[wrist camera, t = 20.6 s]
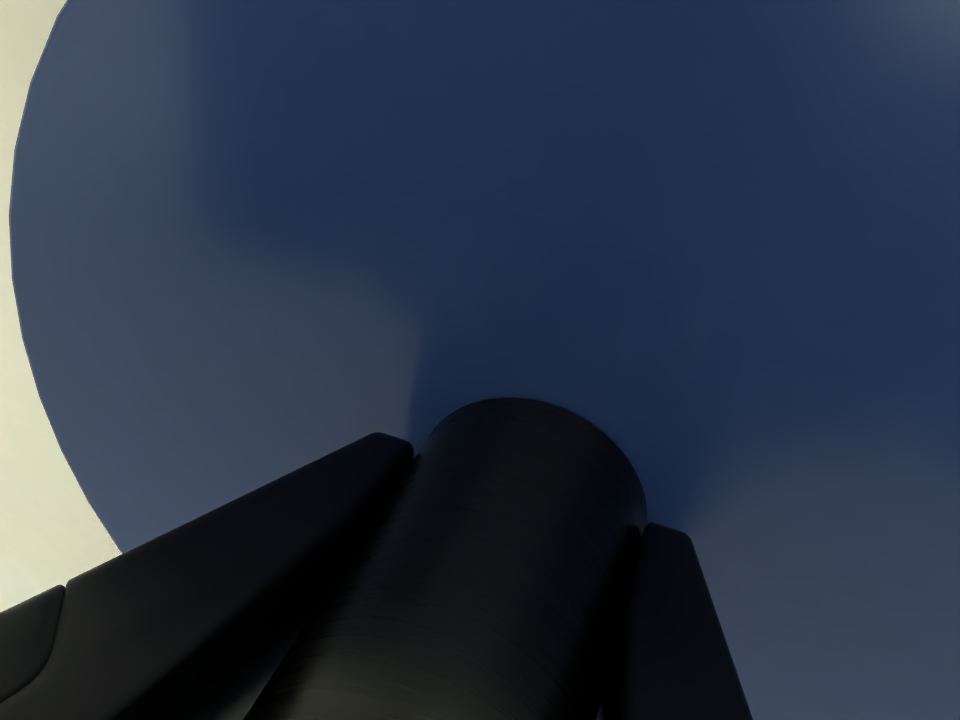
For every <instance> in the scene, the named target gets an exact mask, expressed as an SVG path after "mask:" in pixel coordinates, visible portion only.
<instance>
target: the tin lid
mask: <svg viewBox="0 0 960 720" xmlns="http://www.w3.org/2000/svg"><path fill="white" fill-rule="evenodd" d="M9 226H10V246H11V267H12V281H13V287H14V293H15V298H16V304H17V310H18V316H19V321H20V327H21V333H22V339H23V342H24V346H25V349H26V353H27V356H28V359H29V363H30V366H31V370H32V373H33V377H34V380H35V383H36V387H37V390H38V394H39V397H40V399H41V402H42V404H43V407H44V409H45V412H46V414H47V416H48V419H49V421H50V424H51V426H52V429H53V431H54V434H55V436H56V438H57V441H58V443H59V446H60V448H61V451H62V453H63V455H64V456H65V458H66V460H67V462H68V464H69V466H70V468H71V470H72V472H73V474H74V475H75V477H76V479H77V481H78V483H79V485H80V487H81V489H82V491H83V493H84V494H85V496H86V498H87V500H88V502H89V504H90V505H91V507H92V508H93V510H94V511H95V513H96V514H97V516H98V518H99V519H100V521H101V522H102V524H103V525H104V527H105V528H106V530H107V532H108V533H109V535H110V536H111V538H112V539H113V541H114V542H115V544H116V545H117V547H118V549H119V550H120V551H121V553H122V554H124V553H126V552H128V551H130V550H132V549H134V548H136V547H138V546H140V545H142V544H144V543H146V542H149V541H151V540H153V539H155V538H157V537H159V536H161V535H163V534H165V533H167V532H169V531H171V530H173V529H175V528H177V527H179V526H181V525H184V524H186V523H188V522H190V521H192V520H194V519H196V518H198V517H200V516H202V515H204V514H206V513H208V512H210V511H212V510H214V509H217V508H219V507H221V506H223V505H225V504H227V503H229V502H231V501H233V500H235V499H237V498H239V497H241V496H243V495H245V494H247V493H250V492H252V491H254V490H256V489H258V488H260V487H262V486H264V485H266V484H268V483H270V482H272V481H274V480H276V479H278V478H280V477H283V476H285V475H287V474H289V473H291V472H293V471H295V470H297V469H299V468H301V467H303V466H305V465H307V464H309V463H311V462H313V461H315V460H318V459H320V458H322V457H324V456H326V455H328V454H330V453H332V452H334V451H336V450H338V449H340V448H342V447H344V446H346V445H348V444H351V443H353V442H355V441H357V440H359V439H361V438H363V437H365V436H367V435H369V434H372V433H375V432H381V433H385V434H388V435H391V436H394V437H397V438H400V439H403V440H406V441H408V442H410V443H411V444H412V446H413V448H414V459H413V461H412V462H411V464H410V465H409V467H408V469H407V470H406V472H405V473H404V475H403V476H402V478H401V479H400V481H399V482H398V484H397V485H396V487H395V488H394V490H393V491H392V493H391V494H390V496H389V498H388V499H387V501H386V502H385V504H384V505H383V507H382V508H381V510H380V511H379V513H378V514H377V516H376V517H375V519H374V520H373V522H372V523H371V525H370V527H369V528H368V530H367V531H366V533H365V534H364V536H363V537H362V539H361V540H360V542H359V543H358V545H357V546H356V548H355V549H354V551H353V553H352V554H351V556H350V557H349V559H348V560H347V562H346V563H345V565H344V566H343V568H342V569H341V571H340V572H339V574H338V575H337V577H336V578H335V580H334V582H333V583H332V585H331V586H330V588H329V589H328V591H327V592H326V594H325V595H324V597H323V598H322V600H321V601H320V603H319V604H318V606H317V608H316V609H315V611H314V612H313V614H312V615H311V617H310V618H309V620H308V621H307V623H306V624H305V626H304V627H303V629H302V630H301V632H300V633H299V635H298V637H297V638H296V640H295V641H294V643H293V644H292V646H291V647H290V649H289V650H288V652H287V653H286V655H285V656H284V658H283V659H282V661H281V662H280V664H279V666H278V667H277V669H276V670H275V672H274V673H273V675H272V676H271V678H270V679H269V681H268V682H267V684H266V685H265V687H264V688H263V690H262V692H261V693H260V695H259V696H258V698H257V699H256V701H255V702H254V704H253V705H252V707H251V708H250V710H249V711H248V713H247V714H246V716H245V717H244V719H243V720H596V719H597V715H598V711H599V707H600V704H601V700H602V696H603V692H604V688H605V683H606V678H607V674H608V669H609V665H610V660H611V654H612V650H613V646H614V641H615V637H616V633H617V629H618V625H619V621H620V617H621V614H622V610H623V606H624V602H625V598H626V595H627V591H628V587H629V583H630V579H631V575H632V572H633V568H634V564H635V560H636V556H637V552H638V549H639V545H640V541H641V537H642V534H643V532H644V529H645V527H646V525H648V524H649V523H657V524H660V525H663V526H666V527H669V528H672V529H675V530H678V531H681V532H684V533H686V534H687V535H688V536H689V537H690V538H691V540H692V543H693V546H694V549H695V552H696V554H697V557H698V560H699V563H700V566H701V569H702V572H703V575H704V578H705V581H706V584H707V587H708V589H709V592H710V595H711V598H712V601H713V604H714V607H715V610H716V613H717V616H718V619H719V622H720V624H721V627H722V630H723V633H724V636H725V639H726V642H727V645H728V648H729V651H730V654H731V657H732V660H733V662H734V665H735V668H736V671H737V674H738V677H739V680H740V683H741V686H742V689H743V692H744V695H745V697H746V700H747V703H748V706H749V709H750V712H751V715H752V718H753V720H960V0H67V1H66V3H65V4H64V6H63V8H62V9H61V11H60V13H59V14H58V16H57V18H56V21H55V23H54V26H53V28H52V31H51V33H50V36H49V38H48V40H47V43H46V45H45V48H44V50H43V53H42V55H41V58H40V60H39V63H38V65H37V68H36V70H35V73H34V75H33V77H32V80H31V82H30V86H29V90H28V95H27V99H26V103H25V108H24V112H23V116H22V120H21V125H20V129H19V133H18V137H17V142H16V146H15V151H14V163H13V174H12V186H11V198H10V209H9Z"/></svg>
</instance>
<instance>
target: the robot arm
mask: <svg viewBox="0 0 960 720" xmlns="http://www.w3.org/2000/svg"><path fill="white" fill-rule="evenodd" d="M413 459H414V448H413V446H412V444H411V443H410V442H408V441H406V440H403V439H400V438H397V437H394V436H391V435H388V434H385V433H381V432H375V433H372V434H369V435H367V436H365V437H363V438H361V439H359V440H357V441H355V442H353V443H351V444H348V445H346V446H344V447H342V448H340V449H338V450H336V451H334V452H332V453H330V454H328V455H326V456H324V457H322V458H320V459H318V460H315V461H313V462H311V463H309V464H307V465H305V466H303V467H301V468H299V469H297V470H295V471H293V472H291V473H289V474H287V475H285V476H283V477H280V478H278V479H276V480H274V481H272V482H270V483H268V484H266V485H264V486H262V487H260V488H258V489H256V490H254V491H252V492H250V493H247V494H245V495H243V496H241V497H239V498H237V499H235V500H233V501H231V502H229V503H227V504H225V505H223V506H221V507H219V508H217V509H214V510H212V511H210V512H208V513H206V514H204V515H202V516H200V517H198V518H196V519H194V520H192V521H190V522H188V523H186V524H184V525H181V526H179V527H177V528H175V529H173V530H171V531H169V532H167V533H165V534H163V535H161V536H159V537H157V538H155V539H153V540H151V541H149V542H146V543H144V544H142V545H140V546H138V547H136V548H134V549H132V550H130V551H128V552H126V553H124V554H122V555H120V556H118V557H116V558H113V559H111V560H109V561H107V562H105V563H103V564H101V565H99V566H97V567H95V568H93V569H91V570H89V571H87V572H85V573H83V574H80V575H78V576H76V577H74V578H72V579H70V580H69V581H68V582H67V584H66V588H65V587H64V586H63V585H57V586H55V587H53V588H51V589H49V590H47V591H45V592H43V593H41V594H39V595H37V596H34V597H32V598H30V599H28V600H26V601H24V602H22V603H20V604H18V605H16V606H14V607H11V608H9V609H7V610H5V611H3V612H0V720H243V719H244V717H245V716H246V714H247V713H248V711H249V710H250V708H251V707H252V705H253V704H254V702H255V701H256V699H257V698H258V696H259V695H260V693H261V692H262V690H263V688H264V687H265V685H266V684H267V682H268V681H269V679H270V678H271V676H272V675H273V673H274V672H275V670H276V669H277V667H278V666H279V664H280V662H281V661H282V659H283V658H284V656H285V655H286V653H287V652H288V650H289V649H290V647H291V646H292V644H293V643H294V641H295V640H296V638H297V637H298V635H299V633H300V632H301V630H302V629H303V627H304V626H305V624H306V623H307V621H308V620H309V618H310V617H311V615H312V614H313V612H314V611H315V609H316V608H317V606H318V604H319V603H320V601H321V600H322V598H323V597H324V595H325V594H326V592H327V591H328V589H329V588H330V586H331V585H332V583H333V582H334V580H335V578H336V577H337V575H338V574H339V572H340V571H341V569H342V568H343V566H344V565H345V563H346V562H347V560H348V559H349V557H350V556H351V554H352V553H353V551H354V549H355V548H356V546H357V545H358V543H359V542H360V540H361V539H362V537H363V536H364V534H365V533H366V531H367V530H368V528H369V527H370V525H371V523H372V522H373V520H374V519H375V517H376V516H377V514H378V513H379V511H380V510H381V508H382V507H383V505H384V504H385V502H386V501H387V499H388V498H389V496H390V494H391V493H392V491H393V490H394V488H395V487H396V485H397V484H398V482H399V481H400V479H401V478H402V476H403V475H404V473H405V472H406V470H407V469H408V467H409V465H410V464H411V462H412V461H413ZM596 720H753V718H752V715H751V712H750V709H749V706H748V703H747V700H746V697H745V695H744V692H743V689H742V686H741V683H740V680H739V677H738V674H737V671H736V668H735V665H734V662H733V660H732V657H731V654H730V651H729V648H728V645H727V642H726V639H725V636H724V633H723V630H722V627H721V624H720V622H719V619H718V616H717V613H716V610H715V607H714V604H713V601H712V598H711V595H710V592H709V589H708V587H707V584H706V581H705V578H704V575H703V572H702V569H701V566H700V563H699V560H698V557H697V554H696V552H695V549H694V546H693V543H692V540H691V538H690V537H689V536H688V535H687V534H686V533H684V532H681V531H678V530H675V529H672V528H669V527H666V526H663V525H660V524H657V523H649V524H648V525H646V527H645V529H644V532H643V534H642V537H641V541H640V545H639V549H638V552H637V556H636V560H635V564H634V568H633V572H632V575H631V579H630V583H629V587H628V591H627V595H626V598H625V602H624V606H623V610H622V614H621V617H620V621H619V625H618V629H617V633H616V637H615V641H614V646H613V650H612V654H611V660H610V665H609V669H608V674H607V678H606V683H605V688H604V692H603V696H602V700H601V704H600V707H599V711H598V715H597V719H596Z"/></svg>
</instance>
